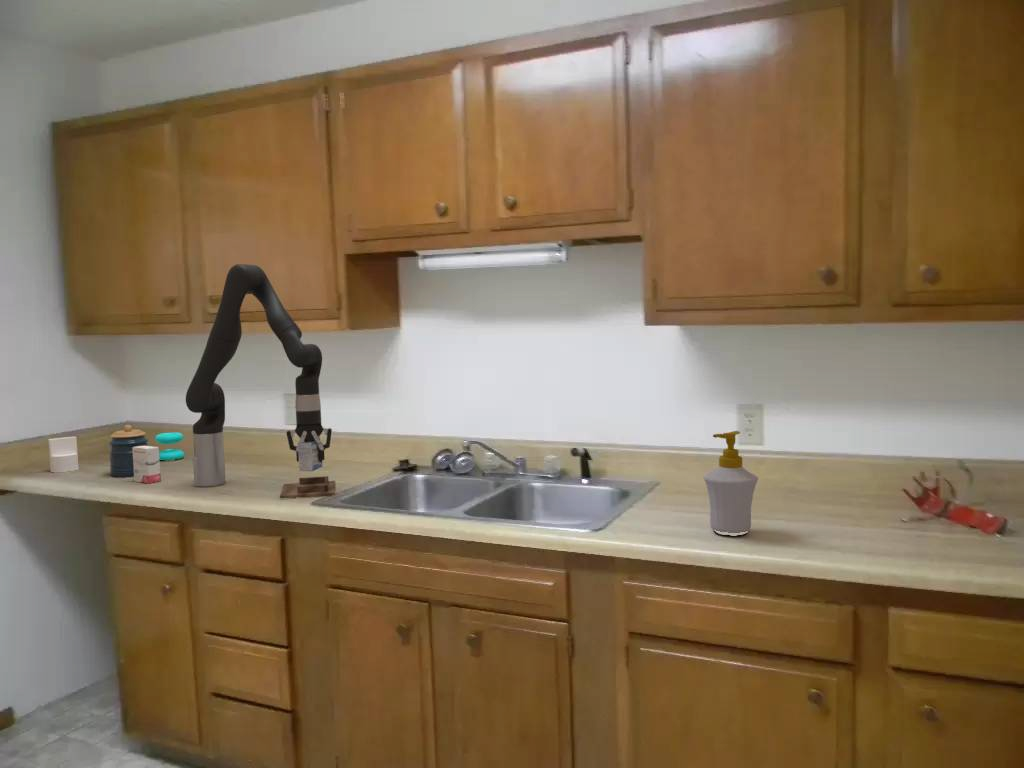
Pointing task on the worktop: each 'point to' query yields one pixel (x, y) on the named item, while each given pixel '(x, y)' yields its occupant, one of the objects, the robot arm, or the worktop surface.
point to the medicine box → (309, 456)
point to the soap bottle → (730, 490)
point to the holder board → (309, 488)
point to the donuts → (170, 439)
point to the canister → (125, 450)
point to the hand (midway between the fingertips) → (310, 462)
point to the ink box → (146, 464)
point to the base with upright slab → (63, 454)
